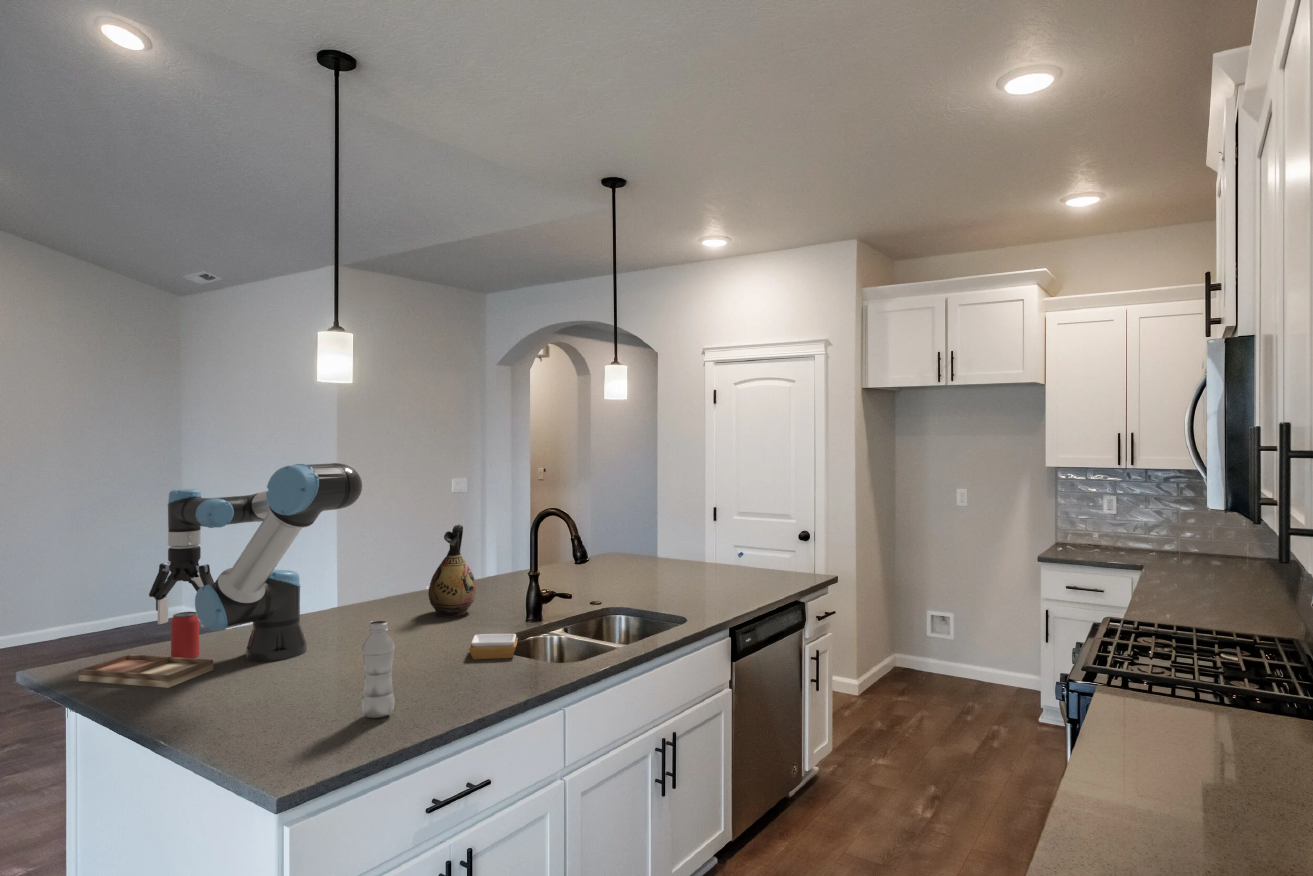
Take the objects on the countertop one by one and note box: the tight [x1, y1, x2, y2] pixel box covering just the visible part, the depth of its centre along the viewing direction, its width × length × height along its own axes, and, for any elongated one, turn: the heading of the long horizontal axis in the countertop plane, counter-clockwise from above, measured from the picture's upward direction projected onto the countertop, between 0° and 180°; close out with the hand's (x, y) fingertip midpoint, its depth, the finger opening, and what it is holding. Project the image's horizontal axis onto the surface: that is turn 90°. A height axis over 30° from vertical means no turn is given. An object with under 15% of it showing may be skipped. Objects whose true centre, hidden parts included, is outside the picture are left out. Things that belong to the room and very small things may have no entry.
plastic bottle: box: [361, 620, 396, 719], centre depth 165 cm, size 6×7×20 cm
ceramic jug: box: [427, 524, 477, 618], centre depth 259 cm, size 17×15×30 cm
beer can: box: [170, 611, 200, 659], centre depth 209 cm, size 7×7×12 cm
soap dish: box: [468, 633, 519, 660], centre depth 211 cm, size 12×10×5 cm
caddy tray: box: [78, 653, 214, 689], centre depth 194 cm, size 26×14×3 cm, turn 78°
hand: (184, 624), depth 210 cm, fingers open, 13 cm apart
